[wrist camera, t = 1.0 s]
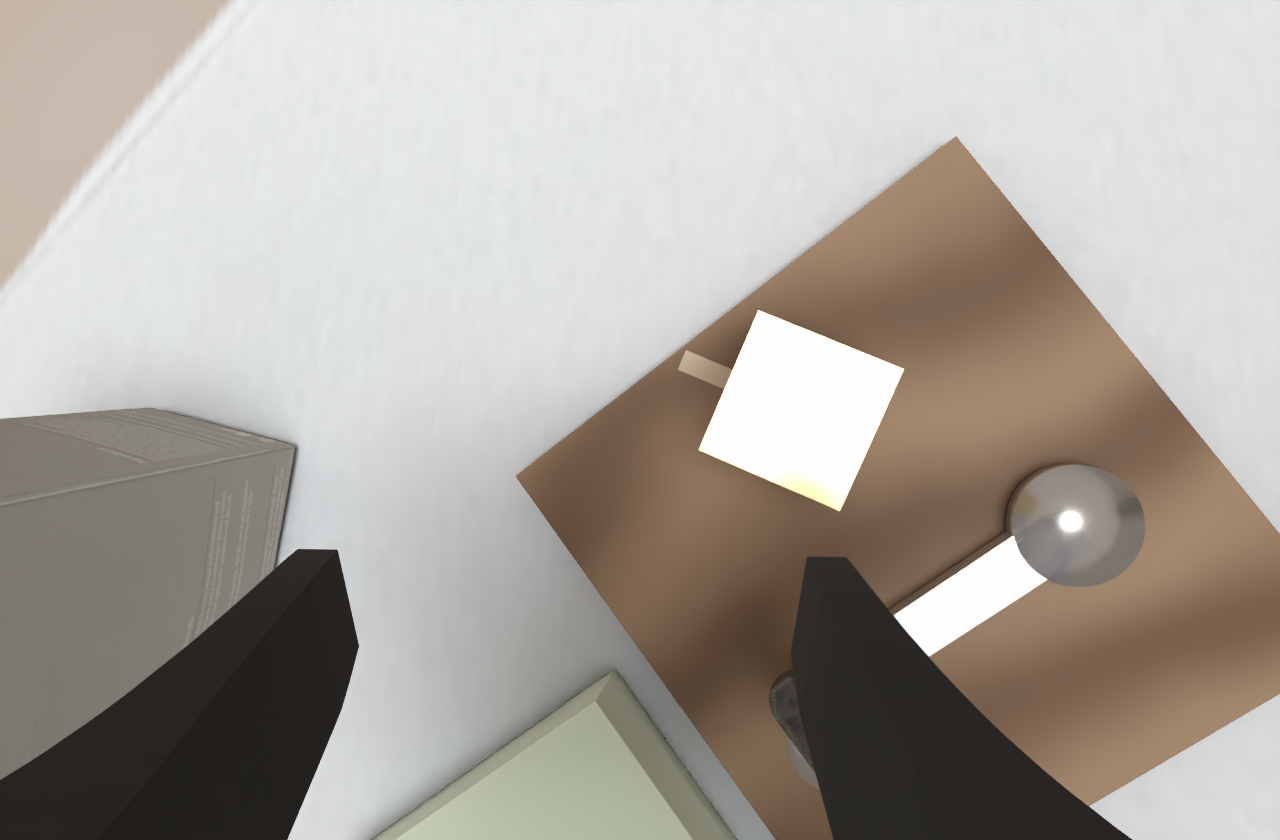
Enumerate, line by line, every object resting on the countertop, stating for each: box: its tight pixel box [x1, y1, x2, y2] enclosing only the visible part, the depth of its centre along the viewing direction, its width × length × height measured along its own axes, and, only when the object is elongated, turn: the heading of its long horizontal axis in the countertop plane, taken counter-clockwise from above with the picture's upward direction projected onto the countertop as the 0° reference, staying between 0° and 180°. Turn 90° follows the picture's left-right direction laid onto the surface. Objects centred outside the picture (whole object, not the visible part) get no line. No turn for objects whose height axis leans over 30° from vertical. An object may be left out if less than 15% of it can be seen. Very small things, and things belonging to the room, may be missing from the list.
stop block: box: [699, 310, 904, 511], centre depth 23 cm, size 4×4×5 cm
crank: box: [769, 463, 1145, 789], centre depth 22 cm, size 12×5×6 cm, turn 127°
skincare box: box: [0, 408, 295, 780], centre depth 23 cm, size 8×7×16 cm
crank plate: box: [516, 137, 1280, 840], centre depth 25 cm, size 19×18×1 cm
